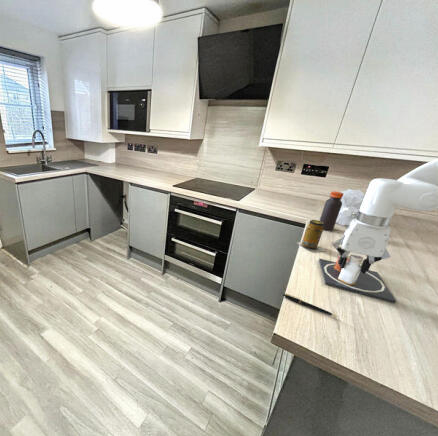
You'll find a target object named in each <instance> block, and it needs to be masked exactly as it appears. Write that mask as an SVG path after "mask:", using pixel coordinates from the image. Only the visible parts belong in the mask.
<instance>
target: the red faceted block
mask: <svg viewBox="0 0 438 436" xmlns="http://www.w3.org/2000/svg"><path fill="white" fill-rule="evenodd" d="M339 258H340V256H338V257H337V259H336V261H335V262H336V264H335V266H334V267H335V268H336V269H337V270H339V271H341V270H342V268H341V267H340V265H339V264H338V261H339ZM348 261H349V257H347V261H346V262H348Z"/></svg>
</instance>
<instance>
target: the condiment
mask: <svg viewBox="0 0 438 436" xmlns="http://www.w3.org/2000/svg"><path fill="white" fill-rule="evenodd" d="M323 225H324V223H323V222H321V221H320V220H317V219H311V220H309V222H308V225H307V226H306V228H305V231H304V234H303V237H302V241H301V242H300V241H299V242H298V241H297V245H299V246H301V247H303V248H304V249H306V250H308V251H310V252H312V253H314V252H316V253H317V252H326V250H325V249H323V248H321V247H320V246H319V243H320V241H321V238H322V235H323V232H324V230H323Z"/></svg>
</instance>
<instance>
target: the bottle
mask: <svg viewBox="0 0 438 436" xmlns="http://www.w3.org/2000/svg"><path fill="white" fill-rule="evenodd" d="M341 192H342V191H336V190H335V191H333V190H332V191H331V192H330V195H329V198H328V199H326V200H325V203H324V206H323V209H322V213H321V215H320V218H319V221H321V222H323V223H324V225H323V231H325V232H326V231H328V232H331V231H333V230H334V228H335V225H336V224H337V223H336V220H337V217H338V214H339V212H340V209H341V206H342V202H341V199H342V197H343V193H341Z"/></svg>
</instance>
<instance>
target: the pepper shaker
mask: <svg viewBox="0 0 438 436" xmlns="http://www.w3.org/2000/svg"><path fill="white" fill-rule="evenodd" d="M348 259H349V261H348V262H346V264H345V266H344V268H342V270H341V273H340V275H339V279H340V280H343V281H345V282H347V283H349V284H352V283H354V282H355V281H356V280H357V278H358V276H359V273H360V271H361V269H362V267H361V265H362V263H363V260H364V258H363V256H361V255H360V254H357V253H351V254H350V256H349V257H348Z"/></svg>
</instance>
